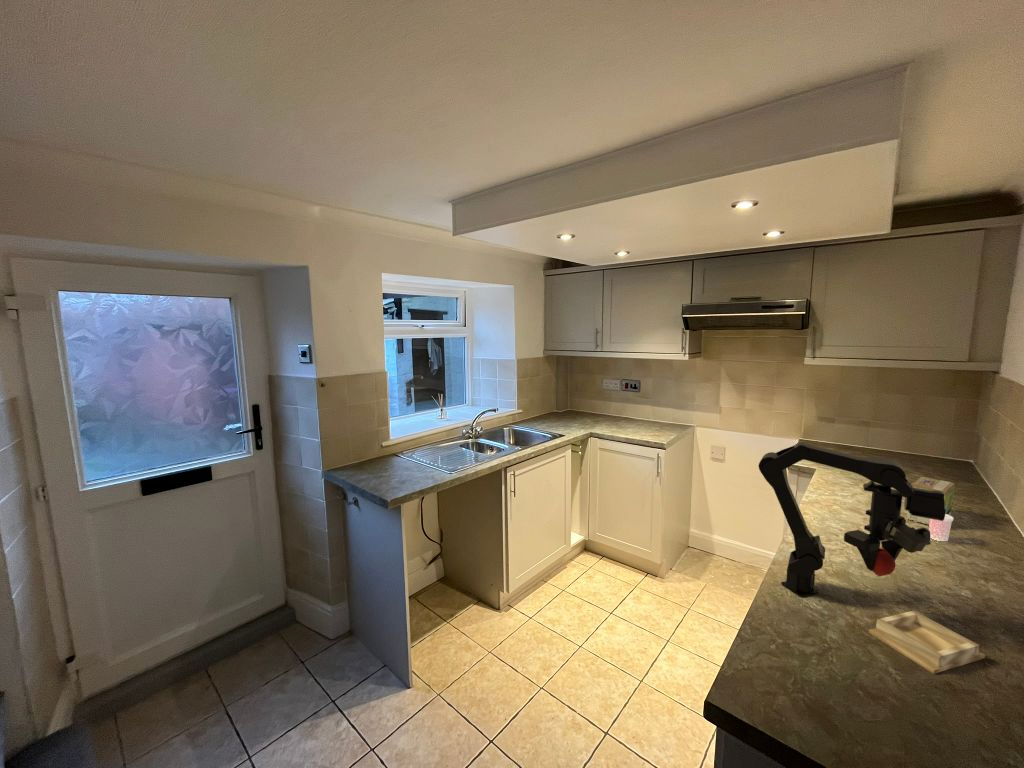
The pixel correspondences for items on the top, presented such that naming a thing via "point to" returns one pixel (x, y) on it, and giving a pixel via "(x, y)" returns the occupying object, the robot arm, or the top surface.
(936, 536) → the beverage cup
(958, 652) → the tray
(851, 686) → the top surface
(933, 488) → the tea box
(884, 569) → the onion
